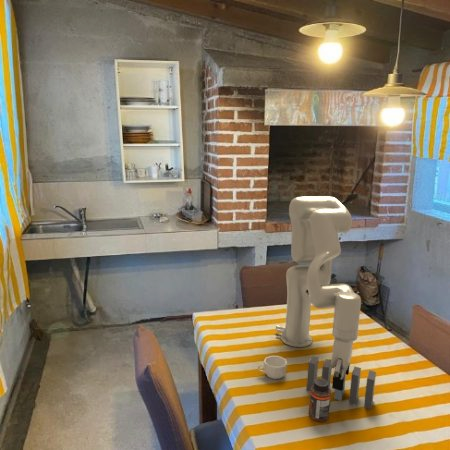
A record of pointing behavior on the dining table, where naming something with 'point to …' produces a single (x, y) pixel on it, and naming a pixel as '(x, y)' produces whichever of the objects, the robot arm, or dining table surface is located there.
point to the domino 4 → (354, 385)
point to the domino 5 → (369, 389)
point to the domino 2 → (327, 371)
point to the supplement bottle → (319, 400)
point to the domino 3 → (337, 392)
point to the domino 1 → (312, 372)
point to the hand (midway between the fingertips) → (340, 381)
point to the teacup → (274, 366)
